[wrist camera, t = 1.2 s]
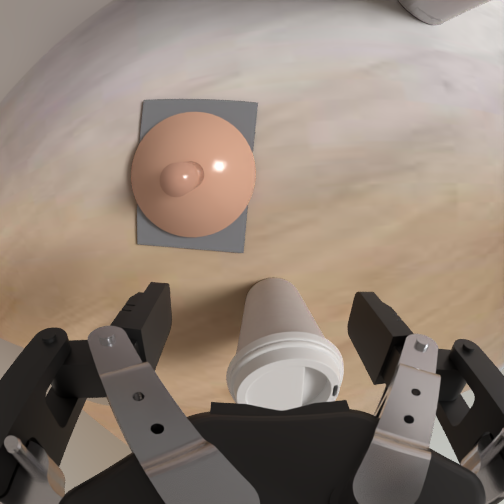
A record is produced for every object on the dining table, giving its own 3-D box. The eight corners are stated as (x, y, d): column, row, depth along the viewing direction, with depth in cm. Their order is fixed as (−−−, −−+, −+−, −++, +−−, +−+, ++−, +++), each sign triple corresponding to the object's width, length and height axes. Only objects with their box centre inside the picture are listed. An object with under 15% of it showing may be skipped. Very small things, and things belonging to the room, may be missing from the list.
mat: (145, 100, 25) (143, 100, 25) (257, 103, 26) (257, 102, 26) (138, 243, 31) (137, 244, 30) (243, 251, 31) (243, 253, 31)
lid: (138, 113, 26) (110, 104, 19) (261, 116, 26) (265, 105, 20) (133, 231, 30) (107, 250, 23) (249, 240, 30) (250, 263, 24)
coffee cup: (294, 342, 35) (315, 435, 21) (222, 323, 34) (211, 420, 20) (325, 278, 32) (372, 361, 18) (247, 254, 31) (248, 334, 17)
